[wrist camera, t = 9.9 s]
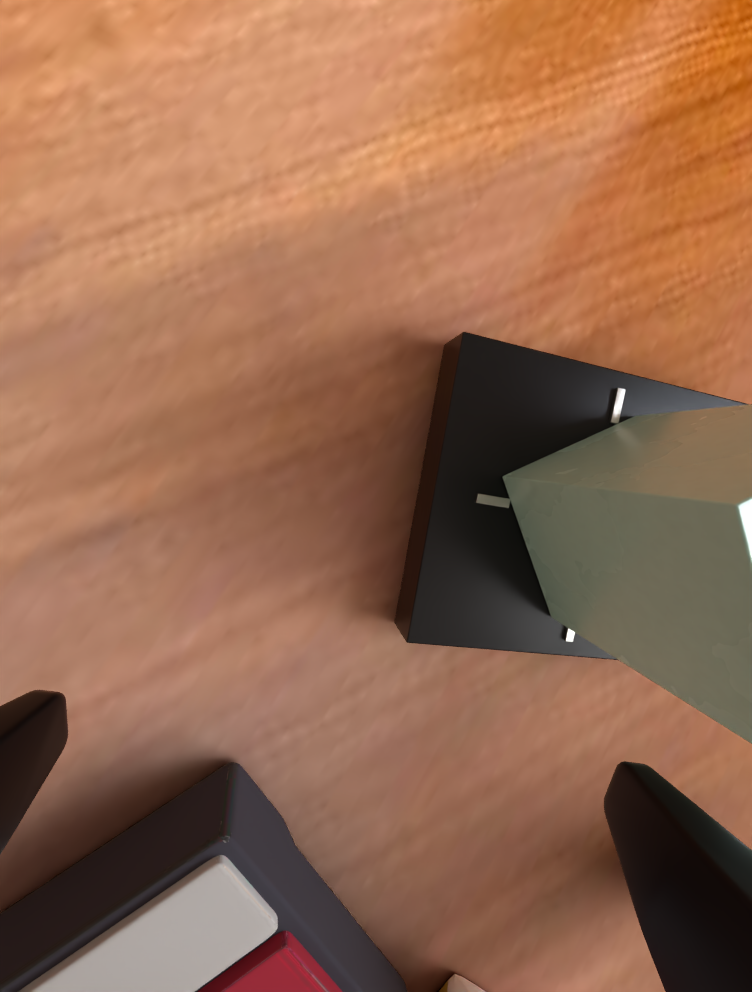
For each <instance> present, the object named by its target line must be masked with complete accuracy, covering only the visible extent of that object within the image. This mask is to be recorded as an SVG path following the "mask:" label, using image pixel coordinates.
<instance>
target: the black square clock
mask: <svg viewBox="0 0 752 992" xmlns="http://www.w3.org/2000/svg"><path fill="white" fill-rule="evenodd" d="M739 405H749V404H746V403H742V402H738V401H734V400H730V399H726V398H722V397H718V396H714V395H710V394H706V393H702V392H698V391H695V390H691V389H687V388H683V387H679V386H675V385H671V384H667V383H663V382H659V381H655V380H651V379H647V378H643V377H639V376H636V375H632V374H628V373H624V372H620V371H616V370H612V369H608V368H604V367H600V366H596V365H592V364H588V363H584V362H581V361H577V360H573V359H569V358H565V357H561V356H557V355H553V354H549V353H545V352H541V351H537V350H533V349H529V348H526V347H522V346H518V345H514V344H510V343H506V342H502V341H498V340H494V339H490V338H486V337H482V336H478V335H474V334H471V333H467V332H463V333H461V334H460V335H458V336H457V337H455V338H454V339H452V340H451V341H449V342H448V343H446V344H445V345H444V350H443V355H442V361H441V366H440V372H439V378H438V383H437V389H436V394H435V400H434V405H433V411H432V417H431V422H430V428H429V433H428V439H427V445H426V450H425V456H424V461H423V467H422V472H421V478H420V484H419V489H418V495H417V500H416V506H415V511H414V517H413V523H412V528H411V534H410V539H409V545H408V550H407V556H406V562H405V567H404V573H403V578H402V584H401V589H400V595H399V601H398V606H397V612H396V617H395V624H396V626H397V627H398V629H399V631H400V632H401V634H402V635H403V637H404V639H405V640H406V642H407V643H419V644H431V645H443V646H455V647H468V648H480V649H492V650H504V651H516V652H529V653H541V654H553V655H565V656H578V657H590V658H602V659H614V660H618V659H616V658H615V657H613V656H612V655H610V654H608V653H607V652H605V651H604V650H602V649H600V648H599V647H597V646H596V645H594V644H592V643H591V642H589V641H588V640H586V639H585V638H583V637H581V636H580V635H578V634H577V633H575V632H573V631H572V630H570V629H569V628H567V627H565V626H564V625H562V624H561V623H559V622H558V621H556V620H554V619H553V618H552V617H551V615H550V612H549V609H548V606H547V603H546V600H545V598H544V595H543V592H542V589H541V586H540V583H539V580H538V578H537V575H536V572H535V569H534V566H533V563H532V560H531V558H530V555H529V552H528V549H527V546H526V543H525V540H524V538H523V535H522V532H521V529H520V526H519V523H518V520H517V518H516V515H515V512H514V509H513V506H512V503H511V500H510V498H509V495H508V492H507V489H506V486H505V483H504V480H503V478H502V477H503V476H504V475H506V474H509V473H511V472H513V471H515V470H517V469H520V468H522V467H524V466H526V465H528V464H531V463H533V462H535V461H537V460H539V459H542V458H544V457H546V456H548V455H550V454H553V453H555V452H557V451H559V450H561V449H564V448H566V447H568V446H570V445H572V444H575V443H577V442H579V441H581V440H583V439H586V438H588V437H590V436H592V435H594V434H597V433H599V432H601V431H603V430H605V429H608V428H610V427H612V426H614V425H616V424H619V423H621V422H623V421H625V420H627V419H630V418H632V417H634V416H638V415H648V414H658V413H668V412H679V411H689V410H699V409H709V408H719V407H729V406H739Z"/></svg>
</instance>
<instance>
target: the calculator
mask: <svg viewBox="0 0 752 992" xmlns="http://www.w3.org/2000/svg"><path fill="white" fill-rule="evenodd" d="M0 992H407V989H406V985H405V982H404V981H403V979H402V978H401V977H400V975H399V974H398V973H397V972H396V970H395V969H394V968H393V967H392V965H391V964H390V963H389V962H388V960H387V959H386V958H385V957H384V955H383V954H382V953H381V952H380V951H379V949H378V948H377V947H376V946H375V944H374V943H373V942H372V941H371V939H370V938H369V937H368V936H367V934H366V933H365V932H364V931H363V929H362V928H361V927H360V926H359V924H358V923H357V922H356V921H355V919H354V918H353V917H352V916H351V914H350V913H349V912H348V911H347V909H346V908H345V907H344V906H343V904H342V903H341V902H340V901H339V900H338V898H337V897H336V896H335V895H334V893H333V892H332V891H331V890H330V888H329V887H328V886H327V885H326V883H325V882H324V881H323V880H322V878H321V877H320V876H319V875H318V873H317V872H316V871H315V870H314V868H313V867H312V866H311V865H310V863H309V862H308V861H307V860H306V858H305V857H304V856H303V855H302V853H301V852H300V851H299V850H298V848H297V847H296V846H295V844H294V842H293V839H292V837H291V835H290V833H289V830H288V828H287V826H286V824H285V822H284V819H283V818H282V817H281V815H280V814H279V813H278V811H277V810H276V809H275V808H274V806H273V805H272V804H271V803H270V801H269V800H268V799H267V798H266V796H265V795H264V794H263V793H262V791H261V790H260V789H259V788H258V786H257V785H256V784H255V782H254V781H253V780H252V779H251V777H250V776H249V775H248V774H247V772H246V771H245V770H244V769H243V768H242V767H241V766H240V765H239V764H237V763H229V764H226V765H225V766H223V767H221V768H220V769H218V770H217V771H215V772H214V773H212V774H211V775H209V776H208V777H206V778H205V779H203V780H202V781H200V782H199V783H197V784H196V785H194V786H193V787H191V788H190V789H188V790H186V791H185V792H183V793H182V794H180V795H179V796H177V797H176V798H174V799H173V800H171V801H170V802H168V803H167V804H165V805H164V806H162V807H161V808H159V809H158V810H156V811H155V812H153V813H152V814H150V815H149V816H147V817H146V818H144V819H143V820H141V821H140V822H138V823H137V824H135V825H134V826H132V827H131V828H129V829H128V830H126V831H125V832H123V833H122V834H120V835H118V836H117V837H115V838H114V839H112V840H111V841H109V842H108V843H106V844H105V845H103V846H102V847H100V848H99V849H97V850H96V851H94V852H93V853H91V854H90V855H88V856H87V857H85V858H84V859H82V860H81V861H79V862H78V863H76V864H75V865H73V866H72V867H70V868H69V869H67V870H66V871H64V872H63V873H61V874H60V875H58V876H57V877H55V878H54V879H52V880H51V881H49V882H47V883H46V884H44V885H43V886H41V887H40V888H38V889H37V890H35V891H34V892H32V893H31V894H29V895H28V896H26V897H25V898H23V899H22V900H20V901H19V902H17V903H16V904H14V905H13V906H11V907H10V908H8V909H7V910H5V911H4V912H2V913H1V914H0Z"/></svg>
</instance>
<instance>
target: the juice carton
mask: <svg viewBox="0 0 752 992" xmlns="http://www.w3.org/2000/svg"><path fill="white" fill-rule="evenodd" d="M439 992H485V991H484V990H483V989H481V988H480V987H478V986H477V985H475V984H474V983H472V982H470V981H468V980H467V979H465V978H463V977H462V976H459V975H456V974H454V975H453V976H452V977H451V978H450V979H449V980H448V981H447V982H446V983H445V985H444V986H443V987H442V988H441V990H440V991H439Z"/></svg>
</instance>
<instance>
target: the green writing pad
mask: <svg viewBox="0 0 752 992" xmlns="http://www.w3.org/2000/svg"><path fill="white" fill-rule="evenodd" d="M502 478H503V480H504V483H505V486H506V489H507V492H508V495H509V498H510V500H511V503H512V506H513V509H514V512H515V515H516V518H517V520H518V523H519V526H520V529H521V532H522V535H523V538H524V540H525V543H526V546H527V549H528V552H529V555H530V558H531V560H532V563H533V566H534V569H535V572H536V575H537V578H538V580H539V583H540V586H541V589H542V592H543V595H544V598H545V600H546V603H547V606H548V609H549V612H550V615H551V617H552V618H553V619H554V620H556V621H558V622H559V623H561V624H562V625H564V626H565V627H567V628H569V629H570V630H572V631H573V632H575V633H577V634H578V635H580V636H581V637H583V638H585V639H586V640H588V641H589V642H591V643H592V644H594V645H596V646H597V647H599V648H600V649H602V650H604V651H605V652H607V653H608V654H610V655H612V656H613V657H615V658H616V659H618V660H620V661H621V662H623V663H624V664H626V665H627V666H629V667H631V668H632V669H634V670H635V671H637V672H639V673H640V674H642V675H643V676H645V677H647V678H648V679H650V680H651V681H653V682H654V683H656V684H658V685H659V686H661V687H662V688H664V689H666V690H667V691H669V692H670V693H672V694H674V695H675V696H677V697H678V698H680V699H682V700H683V701H685V702H686V703H688V704H689V705H691V706H693V707H694V708H696V709H697V710H699V711H701V712H702V713H704V714H705V715H707V716H709V717H710V718H712V719H713V720H715V721H716V722H718V723H720V724H721V725H723V726H724V727H726V728H728V729H729V730H731V731H732V732H734V733H736V734H737V735H739V736H740V737H742V738H744V739H745V740H747V741H748V742H750V743H751V744H752V404H749V405H739V406H729V407H719V408H709V409H699V410H689V411H679V412H668V413H658V414H648V415H638V416H634V417H632V418H630V419H627V420H625V421H623V422H621V423H619V424H616V425H614V426H612V427H610V428H608V429H605V430H603V431H601V432H599V433H597V434H594V435H592V436H590V437H588V438H586V439H583V440H581V441H579V442H577V443H575V444H572V445H570V446H568V447H566V448H564V449H561V450H559V451H557V452H555V453H553V454H550V455H548V456H546V457H544V458H542V459H539V460H537V461H535V462H533V463H531V464H528V465H526V466H524V467H522V468H520V469H517V470H515V471H513V472H511V473H509V474H506V475H504V476H503V477H502Z"/></svg>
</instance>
